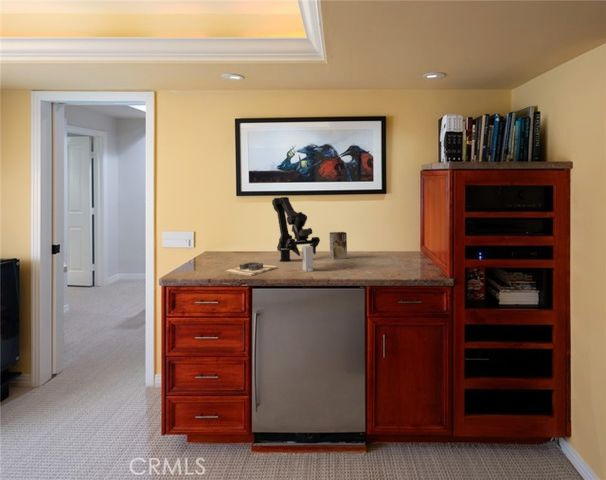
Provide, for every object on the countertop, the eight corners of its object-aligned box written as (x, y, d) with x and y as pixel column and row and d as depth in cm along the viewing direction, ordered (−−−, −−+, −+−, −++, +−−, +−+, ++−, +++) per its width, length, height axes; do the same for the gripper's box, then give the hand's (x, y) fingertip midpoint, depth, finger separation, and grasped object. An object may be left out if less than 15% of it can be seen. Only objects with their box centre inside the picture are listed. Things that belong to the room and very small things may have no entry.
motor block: (302, 269, 259) (302, 244, 258) (309, 269, 261) (309, 244, 259) (307, 271, 254) (306, 246, 252) (314, 271, 255) (313, 245, 254)
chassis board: (252, 265, 276) (251, 259, 275) (277, 267, 266) (277, 261, 266) (224, 272, 255) (224, 266, 255) (250, 275, 246) (250, 269, 245)
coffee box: (343, 256, 298) (343, 231, 296) (347, 258, 292) (347, 232, 290) (329, 257, 296) (329, 232, 294) (333, 259, 290) (332, 233, 288)
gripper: (286, 224, 256) (295, 247, 248) (318, 222, 264) (327, 244, 255) (282, 237, 265) (290, 259, 256) (312, 235, 272) (321, 256, 263)
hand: (307, 254), depth 257 cm, fingers open, 9 cm apart
